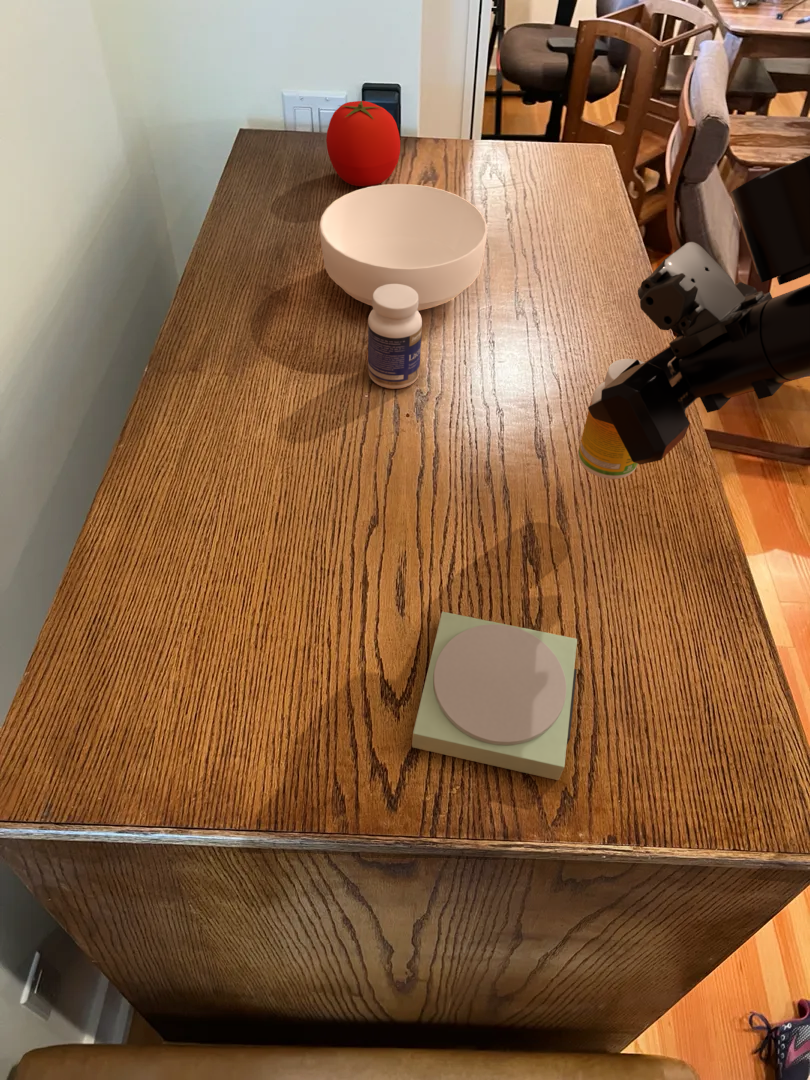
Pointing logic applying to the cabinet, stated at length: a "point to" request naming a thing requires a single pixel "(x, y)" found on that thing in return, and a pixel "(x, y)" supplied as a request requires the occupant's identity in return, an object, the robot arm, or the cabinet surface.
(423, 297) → the bowl
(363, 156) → the tomato
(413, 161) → the cabinet surface
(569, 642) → the scale
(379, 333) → the pill bottle
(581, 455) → the supplement bottle
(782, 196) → the robot arm
